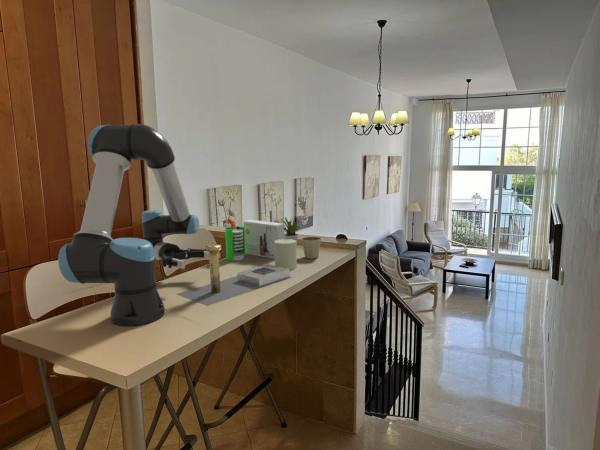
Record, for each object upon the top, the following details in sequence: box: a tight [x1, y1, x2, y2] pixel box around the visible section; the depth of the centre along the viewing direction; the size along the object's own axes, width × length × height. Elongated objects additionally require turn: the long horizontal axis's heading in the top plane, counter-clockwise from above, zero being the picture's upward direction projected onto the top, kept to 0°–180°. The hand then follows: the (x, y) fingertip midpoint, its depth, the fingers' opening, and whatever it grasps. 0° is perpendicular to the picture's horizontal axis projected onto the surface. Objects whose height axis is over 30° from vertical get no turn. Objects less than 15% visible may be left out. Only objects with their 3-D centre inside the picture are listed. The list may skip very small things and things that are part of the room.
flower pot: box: [300, 236, 322, 259], centre depth 198 cm, size 9×9×9 cm
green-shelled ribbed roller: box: [224, 218, 246, 262], centre depth 198 cm, size 9×8×18 cm
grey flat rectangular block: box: [236, 263, 291, 287], centre depth 165 cm, size 16×12×3 cm
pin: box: [205, 243, 222, 293], centre depth 150 cm, size 5×5×16 cm
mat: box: [176, 275, 293, 306], centre depth 158 cm, size 39×18×1 cm, turn 138°
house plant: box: [279, 215, 303, 247], centre depth 219 cm, size 14×14×16 cm
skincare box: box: [243, 219, 285, 260], centre depth 202 cm, size 21×5×16 cm, turn 53°
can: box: [274, 238, 298, 271], centre depth 180 cm, size 9×9×12 cm
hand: (200, 261), depth 156 cm, fingers open, 13 cm apart
